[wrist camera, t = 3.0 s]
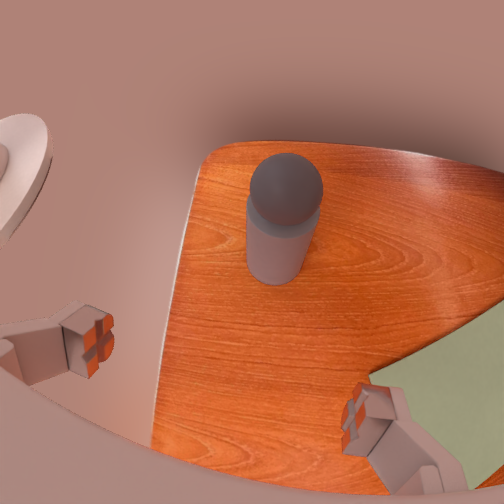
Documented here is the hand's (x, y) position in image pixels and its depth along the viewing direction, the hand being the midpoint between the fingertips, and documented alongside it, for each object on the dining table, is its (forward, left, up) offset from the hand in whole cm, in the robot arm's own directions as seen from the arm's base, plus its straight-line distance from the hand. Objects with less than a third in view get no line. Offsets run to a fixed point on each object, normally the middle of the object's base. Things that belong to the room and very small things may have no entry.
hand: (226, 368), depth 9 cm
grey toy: (+6, +10, -15) cm, 19 cm away
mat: (+20, -10, -15) cm, 27 cm away
